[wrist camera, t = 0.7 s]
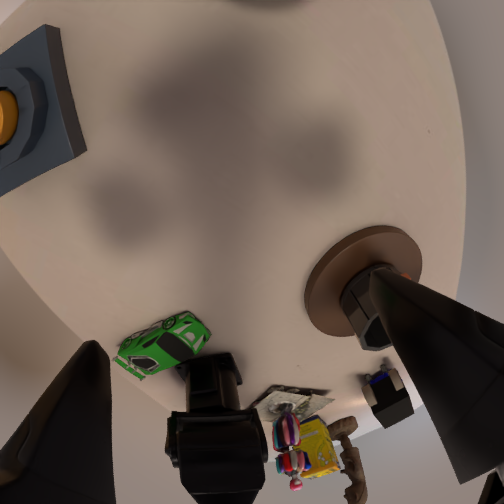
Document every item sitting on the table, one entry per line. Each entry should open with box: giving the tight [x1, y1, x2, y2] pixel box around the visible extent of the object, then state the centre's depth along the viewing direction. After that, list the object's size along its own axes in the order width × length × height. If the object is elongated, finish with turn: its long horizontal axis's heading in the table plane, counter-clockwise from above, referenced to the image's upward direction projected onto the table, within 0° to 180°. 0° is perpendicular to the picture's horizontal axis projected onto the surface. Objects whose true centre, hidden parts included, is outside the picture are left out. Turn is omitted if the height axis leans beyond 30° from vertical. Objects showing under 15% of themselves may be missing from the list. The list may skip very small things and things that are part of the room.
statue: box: [252, 386, 335, 491], centre depth 32 cm, size 11×9×15 cm
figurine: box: [327, 417, 368, 504], centre depth 41 cm, size 9×8×20 cm
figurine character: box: [362, 366, 414, 429], centre depth 37 cm, size 7×8×15 cm
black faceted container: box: [341, 264, 411, 351], centre depth 23 cm, size 8×7×4 cm
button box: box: [0, 24, 87, 197], centre depth 12 cm, size 10×8×4 cm
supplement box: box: [293, 415, 341, 479], centre depth 40 cm, size 6×6×11 cm
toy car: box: [112, 312, 212, 381], centre depth 26 cm, size 10×5×2 cm, turn 119°
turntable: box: [305, 226, 422, 337], centre depth 26 cm, size 13×13×1 cm
